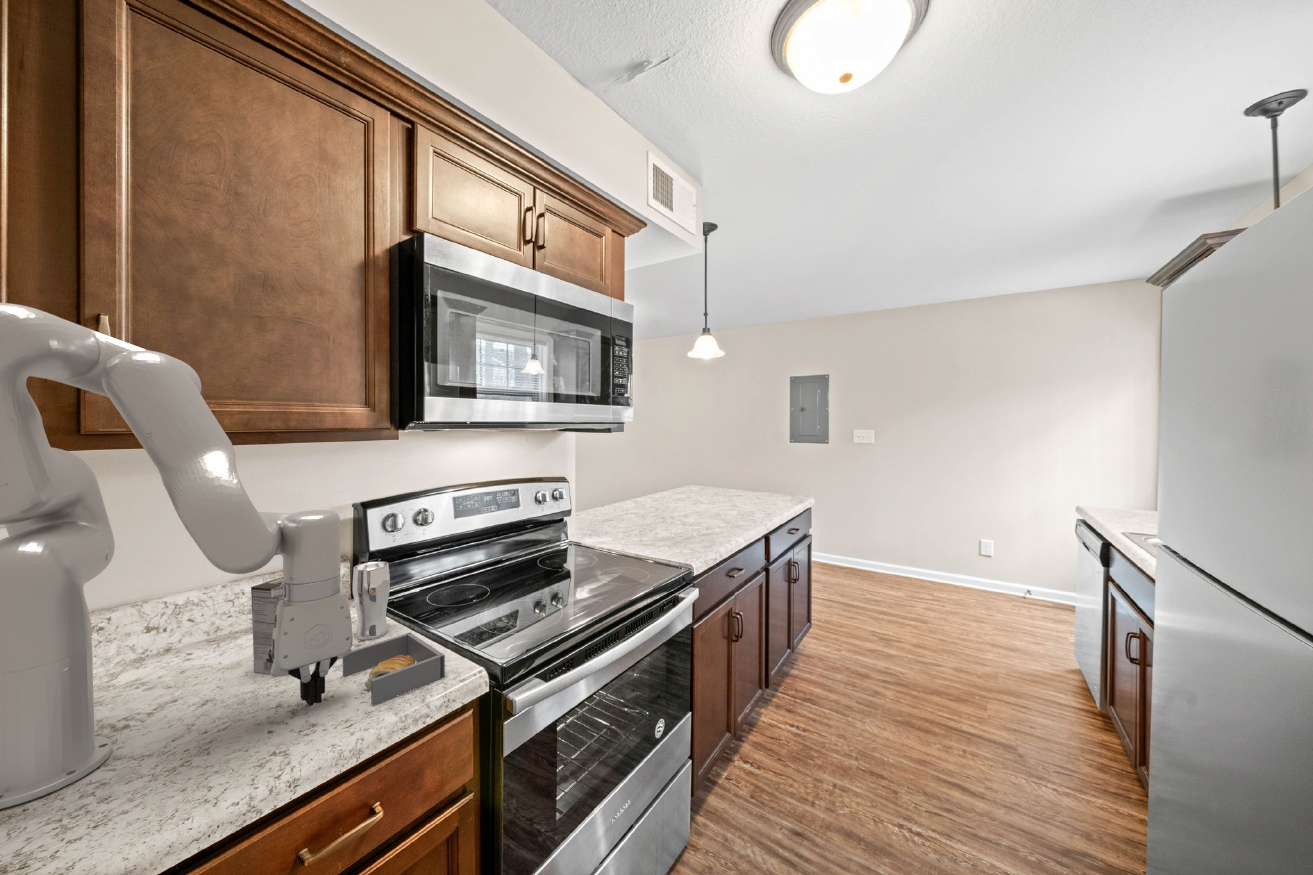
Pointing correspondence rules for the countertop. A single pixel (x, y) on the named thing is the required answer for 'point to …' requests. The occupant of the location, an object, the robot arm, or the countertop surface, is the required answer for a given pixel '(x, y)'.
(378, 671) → the pastry
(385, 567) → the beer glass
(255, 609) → the coffee box
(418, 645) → the box
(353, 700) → the countertop surface
